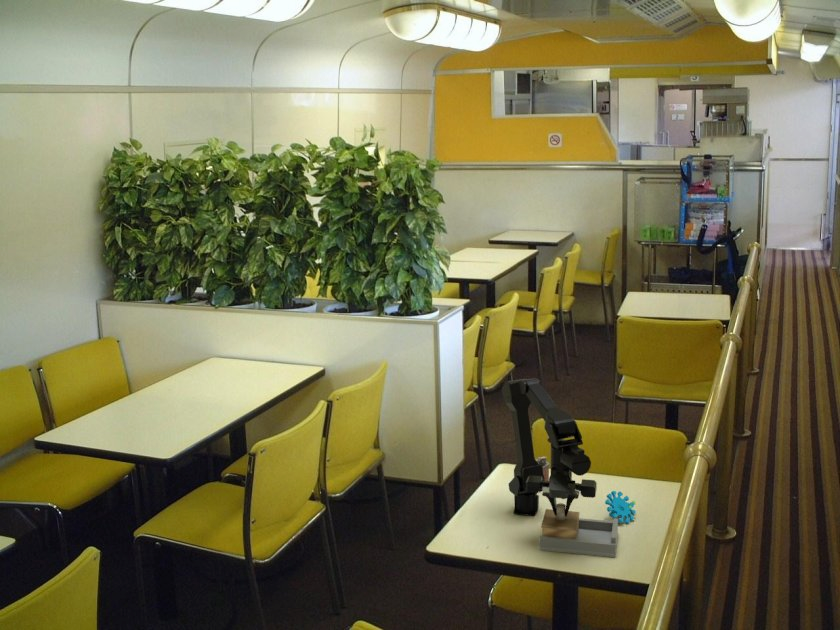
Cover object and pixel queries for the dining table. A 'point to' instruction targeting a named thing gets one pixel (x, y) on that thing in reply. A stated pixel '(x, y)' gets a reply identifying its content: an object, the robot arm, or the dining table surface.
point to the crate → (560, 523)
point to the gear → (620, 507)
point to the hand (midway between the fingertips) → (560, 515)
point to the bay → (587, 539)
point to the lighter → (544, 467)
